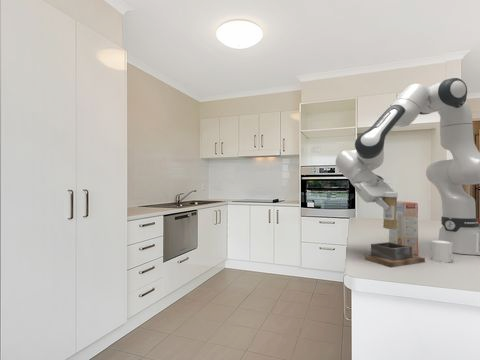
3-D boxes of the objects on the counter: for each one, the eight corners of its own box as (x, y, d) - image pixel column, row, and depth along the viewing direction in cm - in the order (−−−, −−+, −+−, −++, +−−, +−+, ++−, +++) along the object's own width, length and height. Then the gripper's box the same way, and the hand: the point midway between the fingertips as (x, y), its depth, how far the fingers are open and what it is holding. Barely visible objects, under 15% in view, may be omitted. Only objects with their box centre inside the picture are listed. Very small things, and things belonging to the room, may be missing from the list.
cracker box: (419, 255, 108) (418, 202, 109) (403, 255, 109) (402, 202, 110) (402, 248, 122) (402, 200, 123) (388, 247, 123) (387, 200, 123)
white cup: (448, 259, 103) (448, 240, 103) (456, 264, 97) (456, 244, 97) (427, 257, 105) (427, 239, 106) (433, 262, 99) (433, 242, 99)
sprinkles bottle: (399, 229, 101) (400, 192, 101) (391, 229, 98) (392, 192, 99) (387, 227, 105) (388, 192, 105) (380, 227, 102) (380, 191, 103)
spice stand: (397, 255, 109) (397, 241, 109) (424, 262, 99) (424, 246, 99) (364, 259, 103) (364, 244, 103) (390, 267, 93) (390, 250, 93)
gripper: (357, 175, 101) (384, 203, 93) (383, 177, 114) (410, 201, 106) (346, 187, 105) (371, 215, 97) (373, 187, 117) (397, 212, 109)
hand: (391, 208), depth 101 cm, fingers closed on sprinkles bottle, 4 cm apart
